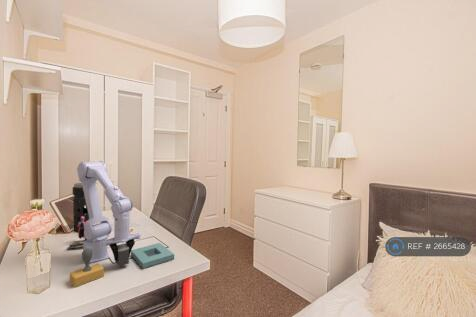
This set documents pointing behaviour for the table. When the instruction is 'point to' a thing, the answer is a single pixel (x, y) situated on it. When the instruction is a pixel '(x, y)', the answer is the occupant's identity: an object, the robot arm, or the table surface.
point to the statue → (79, 243)
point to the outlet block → (152, 255)
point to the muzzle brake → (79, 206)
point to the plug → (123, 255)
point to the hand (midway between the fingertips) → (121, 258)
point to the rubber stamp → (86, 271)
